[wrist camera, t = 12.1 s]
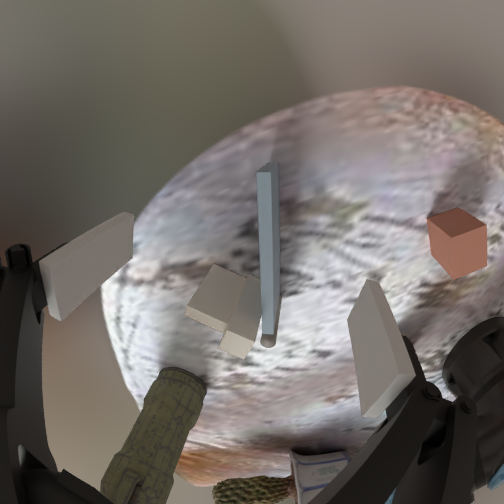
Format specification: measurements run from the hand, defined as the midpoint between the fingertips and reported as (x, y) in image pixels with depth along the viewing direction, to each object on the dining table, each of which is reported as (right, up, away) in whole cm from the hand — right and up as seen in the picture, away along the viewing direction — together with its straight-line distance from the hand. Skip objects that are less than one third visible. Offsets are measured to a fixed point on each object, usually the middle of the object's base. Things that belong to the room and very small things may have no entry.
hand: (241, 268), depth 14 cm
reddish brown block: (+22, +3, +11) cm, 25 cm away
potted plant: (+9, -44, +34) cm, 57 cm away
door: (+3, +2, +14) cm, 15 cm away
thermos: (-11, -21, +28) cm, 37 cm away
